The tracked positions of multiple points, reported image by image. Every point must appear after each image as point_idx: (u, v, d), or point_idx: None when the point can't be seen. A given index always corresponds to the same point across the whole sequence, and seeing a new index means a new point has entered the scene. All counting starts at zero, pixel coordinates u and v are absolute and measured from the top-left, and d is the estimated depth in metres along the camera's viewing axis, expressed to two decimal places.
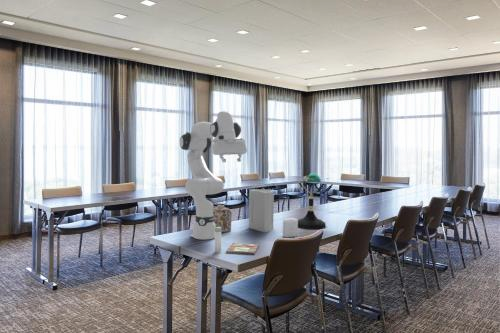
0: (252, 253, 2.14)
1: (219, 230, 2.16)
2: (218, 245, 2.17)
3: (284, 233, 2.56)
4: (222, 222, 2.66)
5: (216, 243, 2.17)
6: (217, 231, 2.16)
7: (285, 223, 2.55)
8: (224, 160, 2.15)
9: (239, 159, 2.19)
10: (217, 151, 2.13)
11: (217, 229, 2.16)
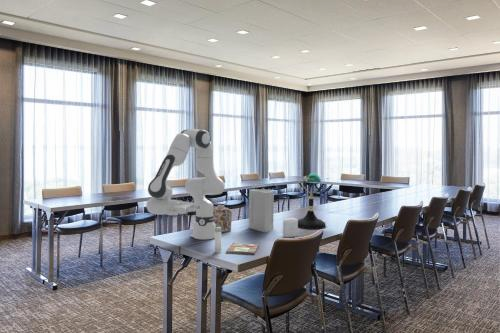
0: (252, 253, 2.14)
1: (219, 230, 2.16)
2: (218, 245, 2.17)
3: (284, 233, 2.56)
4: (222, 222, 2.66)
5: (216, 243, 2.17)
6: (217, 231, 2.16)
7: (285, 223, 2.55)
8: (199, 208, 2.24)
9: None
10: None
11: (217, 229, 2.16)
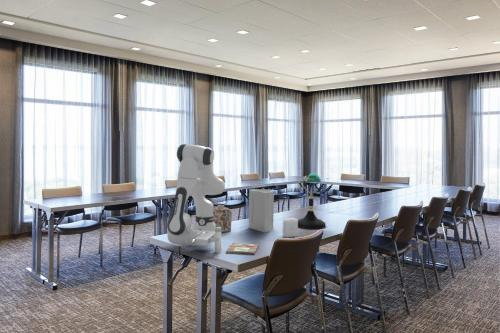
0: (252, 253, 2.14)
1: (219, 230, 2.16)
2: (218, 245, 2.17)
3: (284, 233, 2.56)
4: (222, 222, 2.66)
5: (216, 243, 2.17)
6: (217, 231, 2.16)
7: (285, 223, 2.55)
8: None
9: None
10: None
11: (217, 229, 2.16)
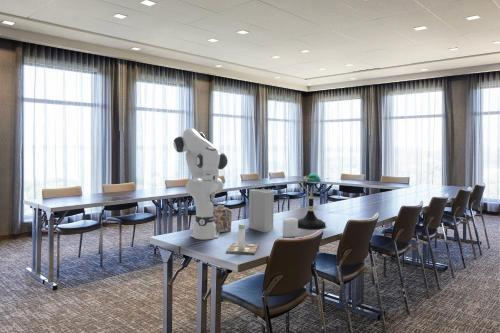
0: (252, 253, 2.14)
1: (243, 227, 2.18)
2: (242, 242, 2.18)
3: (284, 233, 2.56)
4: (222, 222, 2.66)
5: (240, 240, 2.18)
6: (241, 228, 2.18)
7: (285, 223, 2.55)
8: (209, 199, 2.15)
9: (214, 197, 2.24)
10: (209, 191, 2.10)
11: (241, 226, 2.18)
